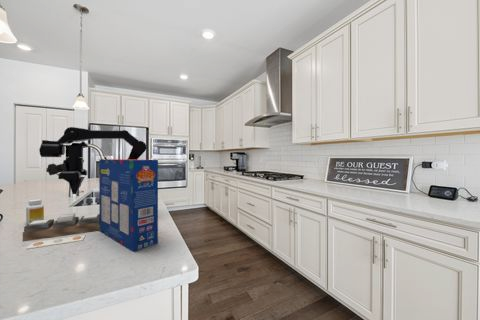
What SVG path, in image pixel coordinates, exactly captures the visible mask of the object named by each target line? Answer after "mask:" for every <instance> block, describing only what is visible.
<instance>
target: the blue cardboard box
mask: <svg viewBox="0 0 480 320" xmlns="http://www.w3.org/2000/svg"><path fill="white" fill-rule="evenodd" d="M98 164H99V169H98V170H99V180H98V181H99V184H98V185H99V187H98V191H99V192H98V193H99V196H98V197H99V202H98V203H99V204H98V205H99V207H98V210H99V211H98V212H99V231H98V232H100V233H101V234H103V235H105V236H107V237H108V238H109V239H111V240H113V241H114V242H116V243H118V244H119V245H121V246H122V247H124V248H125V249H127V250H128V251H130V252H132V253H135V252H137V251H141V250H144V249H146V248H149V247H151V246H155V245H156V244H157V245H158V242H159V159H137V160H131V159H128V158H127V159H123V158H122V159H121V158H120V159H119V158H118V159H116V158H114V159H113V158H111V159H110V158H108V159H106V158H103V159H102V158H101V159H99V161H98Z"/></svg>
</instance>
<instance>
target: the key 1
mask: <svg viewBox="0 0 480 320" xmlns="http://www.w3.org/2000/svg"><path fill="white" fill-rule="evenodd" d="M50 220H51V219H50V218H48V219H47V218H46V219H44V220H36V221H33V222H31V223H30V224H29V226H31V225H40V224H47V223H48V222H50Z"/></svg>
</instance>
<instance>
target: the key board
mask: <svg viewBox="0 0 480 320" xmlns="http://www.w3.org/2000/svg"><path fill="white" fill-rule="evenodd" d="M97 214H98V213H97ZM84 216H85V215H82V217H81V218H80V217H79V216H75V220H74V221H66V222H58V223H57V219H56V220H55V218H53V219H50V222H48V223H47V224H40V225H31V226H29V224H30V223H29V224H27V223H26V225H24V226H23V232H22V242H26V241H27V242H29V241H33V240H39V239H40V240H41V239H48V238H55V237H62V236H69V235H78V234H83V233H92V232H93V233H94V232H100V231H99V214H98V218H93V219H84V220H83V217H84Z"/></svg>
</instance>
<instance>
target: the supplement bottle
mask: <svg viewBox="0 0 480 320" xmlns="http://www.w3.org/2000/svg"><path fill="white" fill-rule="evenodd" d="M44 207H45V206H44V204H42V199H40V198H39V199H31V200H28V205H27V206H26V209H25V211H26V214H25V217H26V220H25V221H26V225H27V224H29V223H31V222H33V221H36V220H45V216H44V215H45V208H44Z"/></svg>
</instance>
